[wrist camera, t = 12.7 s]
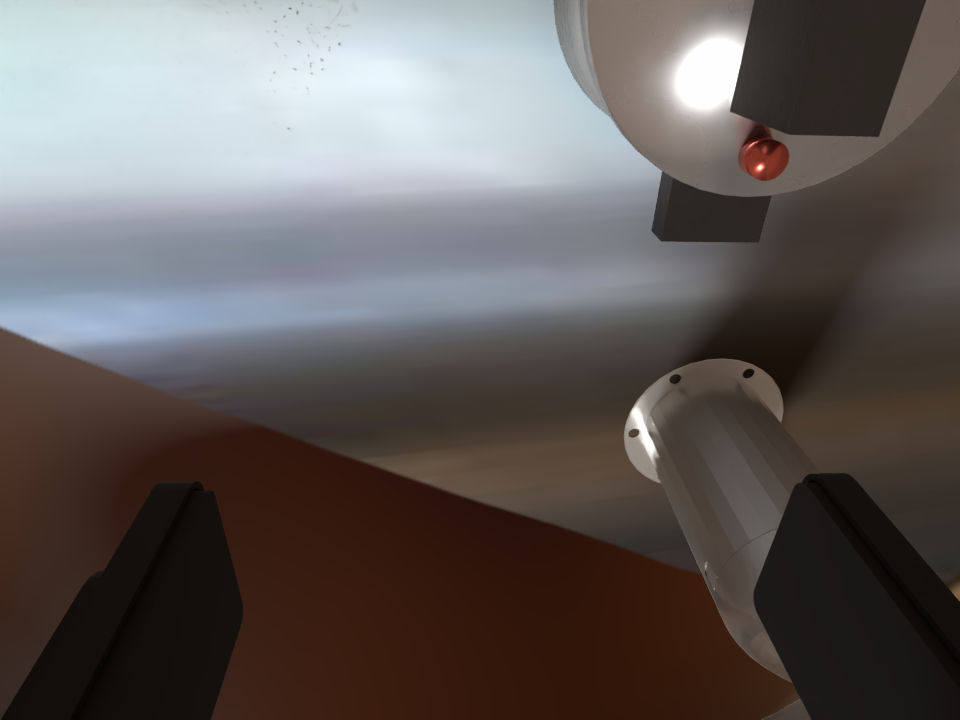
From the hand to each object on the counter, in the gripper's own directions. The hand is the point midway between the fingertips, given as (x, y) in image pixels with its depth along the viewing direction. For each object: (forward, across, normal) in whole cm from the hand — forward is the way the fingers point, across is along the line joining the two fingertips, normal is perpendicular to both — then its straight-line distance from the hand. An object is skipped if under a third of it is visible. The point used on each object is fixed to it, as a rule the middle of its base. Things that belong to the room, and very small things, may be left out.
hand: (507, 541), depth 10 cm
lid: (+20, -12, -8) cm, 25 cm away
